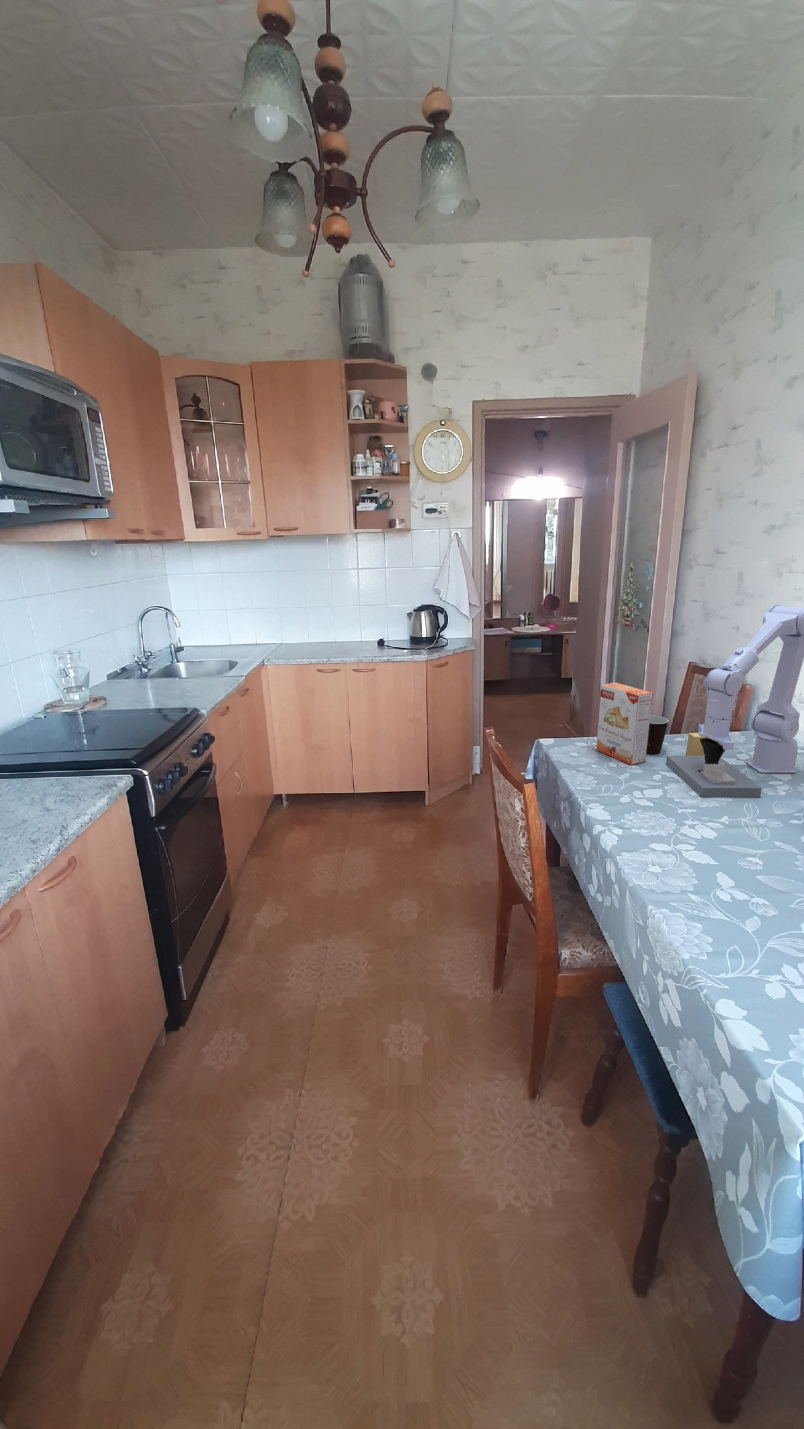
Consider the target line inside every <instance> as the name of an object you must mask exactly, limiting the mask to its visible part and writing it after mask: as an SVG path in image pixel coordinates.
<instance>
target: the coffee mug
mask: <svg viewBox="0 0 804 1429" xmlns="http://www.w3.org/2000/svg"><path fill="white" fill-rule="evenodd" d="M668 725H669V719H667V718H666V717H664V716H660V715H659V716H658V715H653V714H651V715H650V724H649V733H648V742H647V752H646V755H649V756H652V755H653V756H657V755H660V754H661V752H662V748H663V745H664V744H663V743H664V740H665V737H666V733H667V728H668ZM659 753H660V754H659Z"/></svg>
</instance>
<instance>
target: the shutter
mask: <svg viewBox="0 0 804 1429" xmlns="http://www.w3.org/2000/svg"><path fill="white" fill-rule="evenodd" d="M725 765H726V764H725V763H704V764H703V771H700V775H701V776H703V777H704V778H705V779H706V780H707V781H708V782H710V783H711V784H736V780H735V779H733V778H732V777H731V776H730V775H728V774H727V773H726V772H725Z"/></svg>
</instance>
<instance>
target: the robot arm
mask: <svg viewBox="0 0 804 1429" xmlns="http://www.w3.org/2000/svg"><path fill="white" fill-rule="evenodd" d="M778 637H779V638H780V640H781V641H782V649H781V651H780V655H779V659H778V663H777V666H776V670H775V674H774V676H773V681H772V686H771V688H770V693H769V695H768V696H769V697H768V700H767V701H765V702H763V703H760V704H758V705H757V707H756V711H755V712H754V714H753V715H752V717H751V719H750V720H751V721H750V727H751V729H752V731H754V733H753V735H755V742H754V749H753V754H752V760H745V762H744V763H746V764H747V765H748V766H750V767H751V768H752V769H754V770H756V772H758V773H761V774H763V773H764V774H765V773H766V774H767V773H769V774H772V773H773V774H775V773H776V774H777V773H778V774H779V773H780V774H781V773H783V774H785V773H787V774H789V773H792V774H795V773H796V772H797V771H796V770H795V768H796V767H795V766H796V762H797V757H798V752H799V745H798V742H797V740H796V738H795V737H796V736H797V734H798V732H799V728H800V721H799V720H800V715H801V713H800V712H799V711H798V710H797V709H796V708H795V707H794V706H793V704H792V702H793V698H794V695H795V691H796V687H797V686H798V680H799V677H800V673H801V670H802V666H803V663H804V607H799V606H798V607H797V606H785V605H780V604H775V605H772V606H770V607H769V608H768V609H767V611H766V613H764V614H763V619H762V625H761V626H760V628H758V630H757V631H756V633H755V634H754V635H753V636H752V637H751V639H750V640H749V642H748V643H747V644H746V645H745V646H740V647H738V648H737V649H735V650H734V651H733V653H732V654H730V656H729V657H728V658H727V659H726V660H725V661H724V662H723V663H722V664H721V665H720V666H719V668H718V667H717V668H713V669H712V670H710V671H709V672H708V673H707V675H706V677H705V679H703V680H704V681H703V683H704V687H705V689H706V691H705V692H706V693H705V695H706V697H707V701H706V703H707V704H706V710H705V716H704V723H702V724H701V723H700V724H698V732H697V733H698V735H700V736H701V737H706V738H701V739H700V742H701V744H702V747H703V750H704V756H705V763H718V762H719V760H720V758H722V756H723V754H724V753H725V751H726V750H727V751H733V750H734V746H735V742H734V741H733V740H732V737H731V735H730V728H731V723H732V722H731V721H732V720H731V719H732V713H733V709H734V702H735V695H736V694H737V693H738V692H740V691H741V689H742V687H743V684H744V682H745V680H746V676H747V675H748V674H749V673H750V671H751V670H752V669H754V667H755V666H756V665H757V664H758V663H759V655H760V654H761V653H762V652H763V651H765V649H766V648H768V646H770V645H771V644H772V643H773V642H774V641H775V640H776V639H777V638H778Z"/></svg>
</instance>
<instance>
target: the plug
mask: <svg viewBox="0 0 804 1429" xmlns="http://www.w3.org/2000/svg"><path fill="white" fill-rule="evenodd" d="M701 738H706V737H701V736H700V735H698V732H688V735H687V743H686V750H685V756H704V750H703V747H702V744H701V742H700V739H701Z"/></svg>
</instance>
